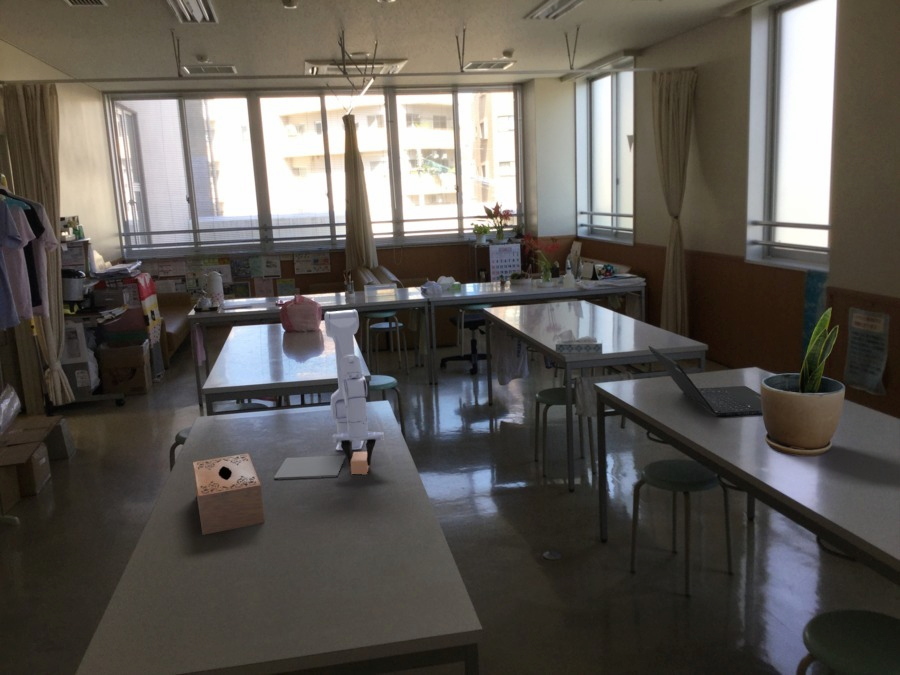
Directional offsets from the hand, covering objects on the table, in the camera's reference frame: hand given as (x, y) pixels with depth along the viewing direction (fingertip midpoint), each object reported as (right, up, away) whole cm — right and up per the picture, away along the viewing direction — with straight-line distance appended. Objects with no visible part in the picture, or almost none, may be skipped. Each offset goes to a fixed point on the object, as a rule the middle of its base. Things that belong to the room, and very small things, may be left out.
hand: (360, 464), depth 211 cm
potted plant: (+127, +5, +1) cm, 127 cm away
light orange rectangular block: (0, -1, 0) cm, 1 cm away
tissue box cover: (-31, -8, -23) cm, 39 cm away
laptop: (+119, +13, +48) cm, 129 cm away
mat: (-15, -2, +3) cm, 15 cm away
